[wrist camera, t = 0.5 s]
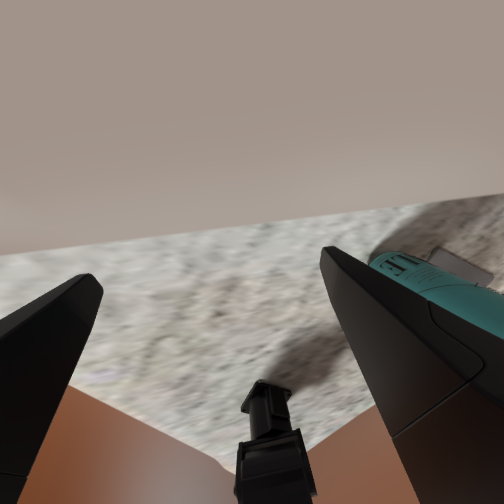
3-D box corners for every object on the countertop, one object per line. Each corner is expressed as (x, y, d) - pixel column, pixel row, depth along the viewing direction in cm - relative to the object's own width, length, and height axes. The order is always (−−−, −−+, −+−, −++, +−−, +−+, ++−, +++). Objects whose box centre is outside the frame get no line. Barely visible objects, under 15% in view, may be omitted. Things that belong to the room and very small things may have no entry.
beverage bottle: (372, 298, 29) (631, 519, 10) (345, 269, 27) (604, 474, 8) (411, 267, 28) (787, 451, 9) (386, 234, 26) (797, 380, 7)
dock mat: (440, 334, 32) (443, 336, 32) (386, 313, 30) (388, 315, 30) (491, 275, 29) (494, 277, 29) (436, 247, 27) (438, 248, 27)
